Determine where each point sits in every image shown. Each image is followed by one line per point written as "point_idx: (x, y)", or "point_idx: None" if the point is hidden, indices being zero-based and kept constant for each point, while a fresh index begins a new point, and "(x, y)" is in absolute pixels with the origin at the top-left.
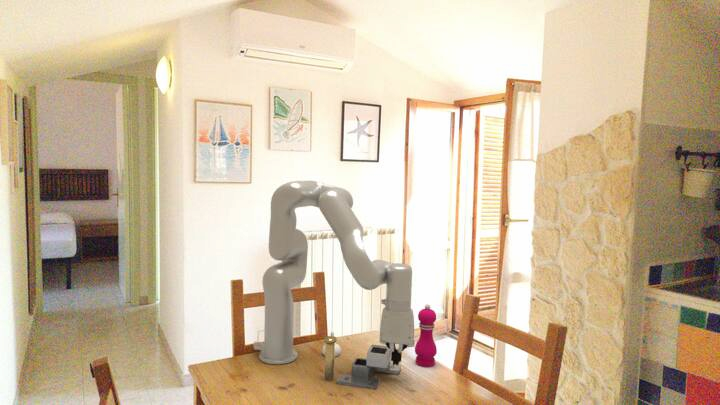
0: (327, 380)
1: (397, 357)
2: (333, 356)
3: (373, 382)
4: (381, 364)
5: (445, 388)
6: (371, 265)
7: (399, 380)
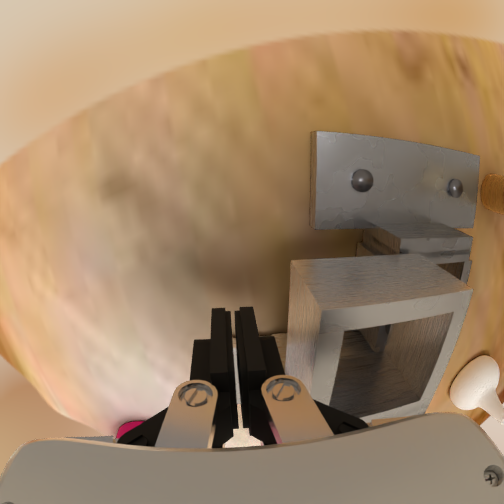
0: (495, 174)
1: (216, 343)
2: None
3: (339, 172)
4: (336, 268)
5: (7, 265)
6: None
7: (206, 280)
